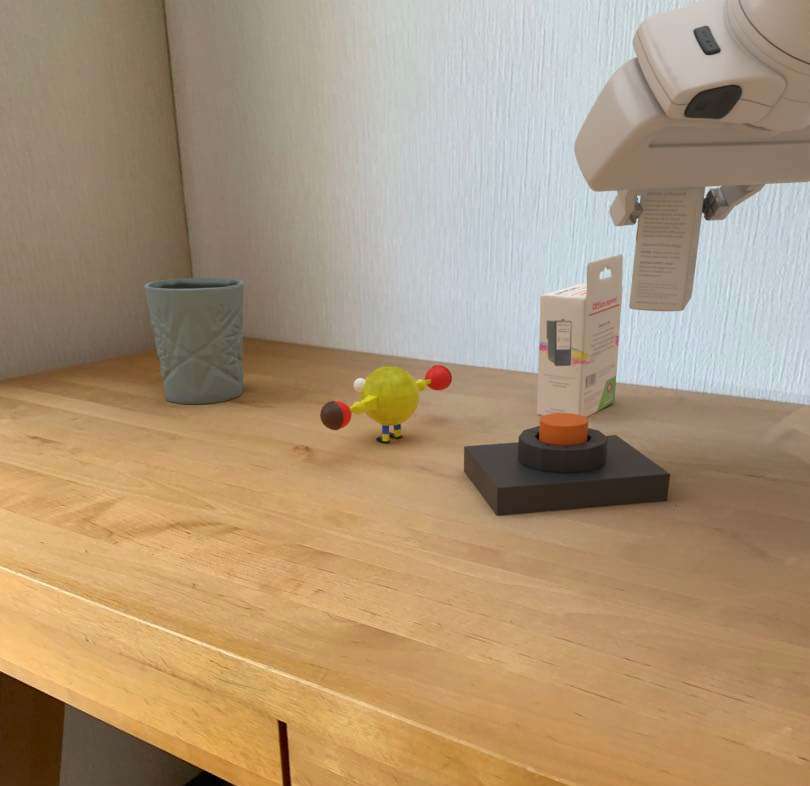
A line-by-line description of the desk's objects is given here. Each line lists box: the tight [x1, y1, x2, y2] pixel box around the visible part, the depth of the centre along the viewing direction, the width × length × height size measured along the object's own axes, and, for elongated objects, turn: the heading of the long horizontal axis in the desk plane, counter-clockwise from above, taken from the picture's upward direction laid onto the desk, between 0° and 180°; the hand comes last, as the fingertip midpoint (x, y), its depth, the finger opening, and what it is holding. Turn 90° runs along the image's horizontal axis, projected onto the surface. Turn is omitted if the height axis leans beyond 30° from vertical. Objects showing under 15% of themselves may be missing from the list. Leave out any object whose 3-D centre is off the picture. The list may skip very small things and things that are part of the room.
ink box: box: [536, 253, 624, 418], centre depth 86 cm, size 9×5×15 cm, turn 144°
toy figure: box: [319, 364, 453, 445], centre depth 79 cm, size 18×6×7 cm, turn 145°
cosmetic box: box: [628, 187, 706, 312], centre depth 67 cm, size 6×4×12 cm
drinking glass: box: [143, 277, 245, 405], centre depth 95 cm, size 10×10×12 cm
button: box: [539, 413, 589, 445], centre depth 66 cm, size 4×4×2 cm
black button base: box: [463, 425, 671, 517], centre depth 67 cm, size 13×10×4 cm
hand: (665, 216), depth 67 cm, fingers closed on cosmetic box, 7 cm apart
